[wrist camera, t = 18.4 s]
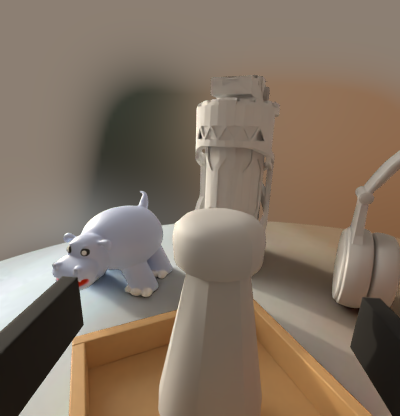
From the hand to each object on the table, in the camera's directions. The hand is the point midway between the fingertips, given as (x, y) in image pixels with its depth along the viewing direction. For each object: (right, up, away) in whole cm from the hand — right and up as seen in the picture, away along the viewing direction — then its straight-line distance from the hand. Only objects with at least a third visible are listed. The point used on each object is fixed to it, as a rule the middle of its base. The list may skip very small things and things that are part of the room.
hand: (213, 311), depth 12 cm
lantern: (+4, -2, +27) cm, 28 cm away
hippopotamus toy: (-11, -4, +19) cm, 22 cm away
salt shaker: (0, -8, +3) cm, 9 cm away
